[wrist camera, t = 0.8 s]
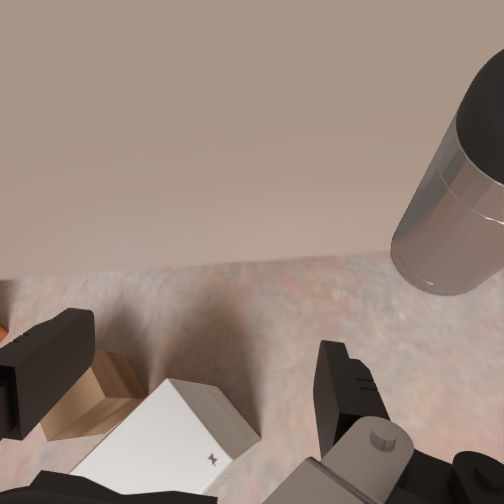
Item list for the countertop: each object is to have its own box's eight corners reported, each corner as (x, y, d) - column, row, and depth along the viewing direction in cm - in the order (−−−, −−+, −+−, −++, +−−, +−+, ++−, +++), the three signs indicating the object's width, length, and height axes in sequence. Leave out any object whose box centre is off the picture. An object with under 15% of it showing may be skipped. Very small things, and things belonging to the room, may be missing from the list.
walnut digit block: (124, 354, 36) (78, 341, 28) (148, 399, 34) (105, 397, 26) (82, 385, 35) (23, 380, 28) (104, 433, 33) (47, 441, 26)
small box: (217, 384, 33) (167, 373, 21) (263, 439, 31) (236, 461, 19) (151, 451, 32) (60, 478, 20) (195, 514, 29) (120, 588, 17)
